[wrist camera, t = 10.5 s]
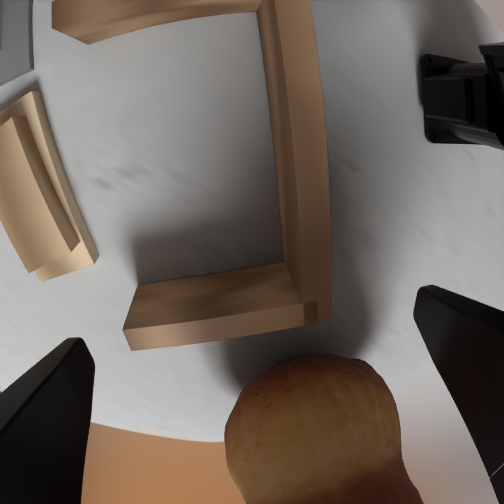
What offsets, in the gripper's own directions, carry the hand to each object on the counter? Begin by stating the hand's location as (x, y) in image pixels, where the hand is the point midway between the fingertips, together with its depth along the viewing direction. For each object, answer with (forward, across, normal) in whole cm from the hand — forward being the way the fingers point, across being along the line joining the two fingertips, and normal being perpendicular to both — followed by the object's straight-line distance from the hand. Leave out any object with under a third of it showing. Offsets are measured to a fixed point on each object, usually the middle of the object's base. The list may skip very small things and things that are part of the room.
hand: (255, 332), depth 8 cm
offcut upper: (+12, +13, -3) cm, 18 cm away
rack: (+13, +1, -3) cm, 13 cm away
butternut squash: (+13, -4, +17) cm, 22 cm away
